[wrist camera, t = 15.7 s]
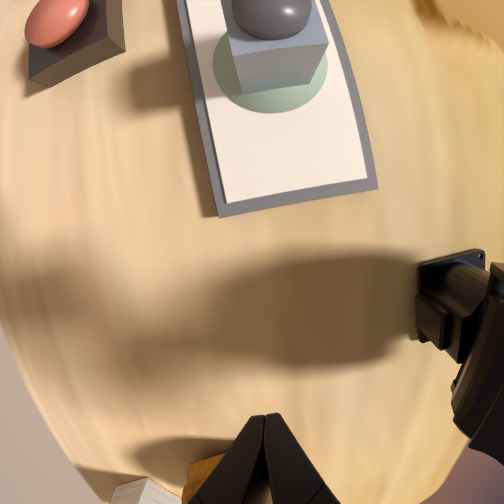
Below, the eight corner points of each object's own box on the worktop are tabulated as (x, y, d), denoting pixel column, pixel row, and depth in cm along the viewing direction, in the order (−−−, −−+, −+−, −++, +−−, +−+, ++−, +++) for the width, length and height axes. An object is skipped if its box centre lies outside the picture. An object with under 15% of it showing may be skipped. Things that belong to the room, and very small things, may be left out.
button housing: (120, -12, 16) (106, -30, 13) (125, 51, 17) (107, 36, 14) (51, 23, 16) (32, 12, 13) (51, 87, 18) (28, 79, 15)
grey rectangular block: (294, 29, 15) (307, -34, 9) (309, 84, 16) (333, 35, 9) (231, 39, 16) (214, -22, 9) (242, 94, 17) (230, 48, 10)
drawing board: (308, -34, 15) (310, -44, 14) (372, 188, 19) (380, 189, 18) (177, -12, 16) (172, -22, 15) (221, 216, 20) (218, 219, 18)
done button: (105, -5, 15) (82, -27, 11) (106, 41, 16) (80, 21, 12) (53, 22, 16) (27, 6, 12) (53, 68, 17) (22, 56, 13)
